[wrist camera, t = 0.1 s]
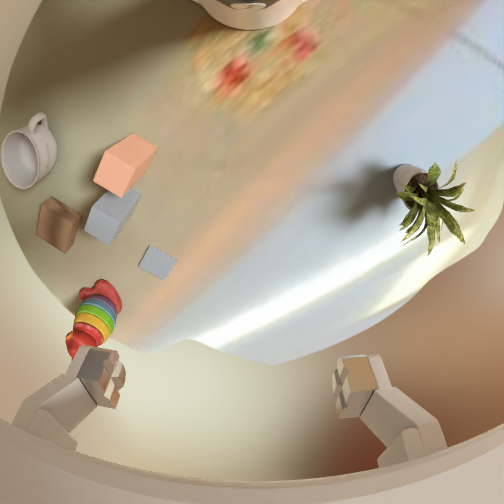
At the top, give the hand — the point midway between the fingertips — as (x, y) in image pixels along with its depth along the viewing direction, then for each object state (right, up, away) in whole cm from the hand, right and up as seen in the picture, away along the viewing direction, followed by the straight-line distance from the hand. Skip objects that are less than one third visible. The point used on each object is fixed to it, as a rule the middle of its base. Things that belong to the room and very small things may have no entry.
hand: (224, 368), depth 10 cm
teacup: (-36, +25, +31) cm, 54 cm away
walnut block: (-37, +11, +41) cm, 56 cm away
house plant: (+27, +18, +35) cm, 47 cm away
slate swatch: (-18, +2, +46) cm, 50 cm away
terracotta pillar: (-17, +20, +34) cm, 43 cm away
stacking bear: (-34, -7, +53) cm, 63 cm away
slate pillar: (-21, +14, +38) cm, 46 cm away
